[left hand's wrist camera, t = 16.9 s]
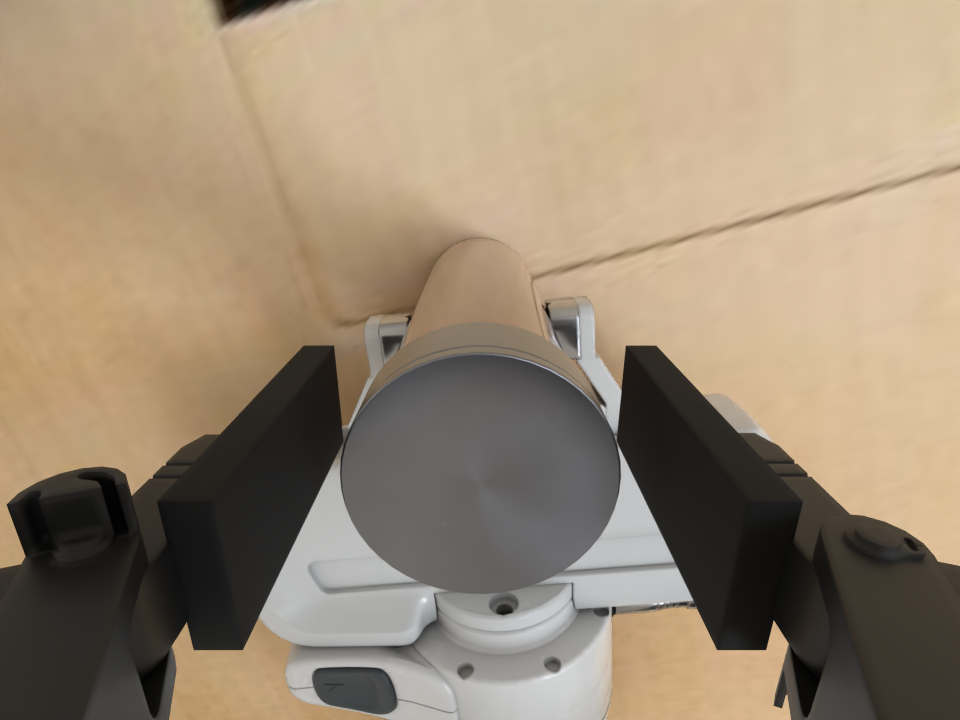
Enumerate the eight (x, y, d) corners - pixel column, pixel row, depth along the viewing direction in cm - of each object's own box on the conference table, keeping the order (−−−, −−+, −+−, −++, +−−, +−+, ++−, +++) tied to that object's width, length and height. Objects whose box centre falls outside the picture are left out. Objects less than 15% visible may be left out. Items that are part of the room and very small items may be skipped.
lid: (546, 559, 13) (557, 622, 11) (334, 497, 12) (310, 553, 11) (640, 368, 11) (670, 408, 9) (400, 285, 11) (383, 310, 9)
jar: (406, 285, 25) (307, 456, 10) (485, 215, 24) (494, 300, 9) (475, 358, 26) (469, 601, 12) (552, 295, 25) (650, 478, 11)
